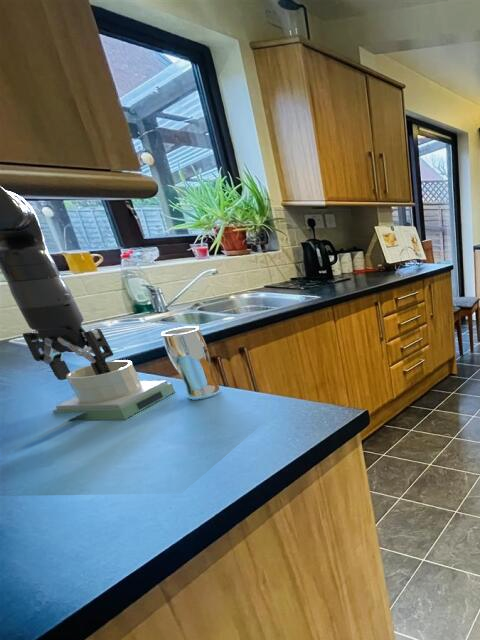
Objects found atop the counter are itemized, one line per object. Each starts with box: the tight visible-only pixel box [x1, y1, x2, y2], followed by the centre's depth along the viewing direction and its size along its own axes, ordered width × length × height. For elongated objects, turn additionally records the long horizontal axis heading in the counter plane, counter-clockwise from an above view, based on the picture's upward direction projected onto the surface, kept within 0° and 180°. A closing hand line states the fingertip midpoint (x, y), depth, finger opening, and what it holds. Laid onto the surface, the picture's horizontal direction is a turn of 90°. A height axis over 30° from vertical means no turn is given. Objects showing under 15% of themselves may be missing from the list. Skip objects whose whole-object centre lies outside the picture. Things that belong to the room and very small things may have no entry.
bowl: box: [66, 359, 142, 403], centre depth 84 cm, size 10×10×6 cm
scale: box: [52, 380, 176, 422], centre depth 86 cm, size 14×13×3 cm
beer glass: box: [160, 326, 221, 401], centre depth 88 cm, size 7×7×15 cm
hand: (85, 378), depth 84 cm, fingers open, 8 cm apart
